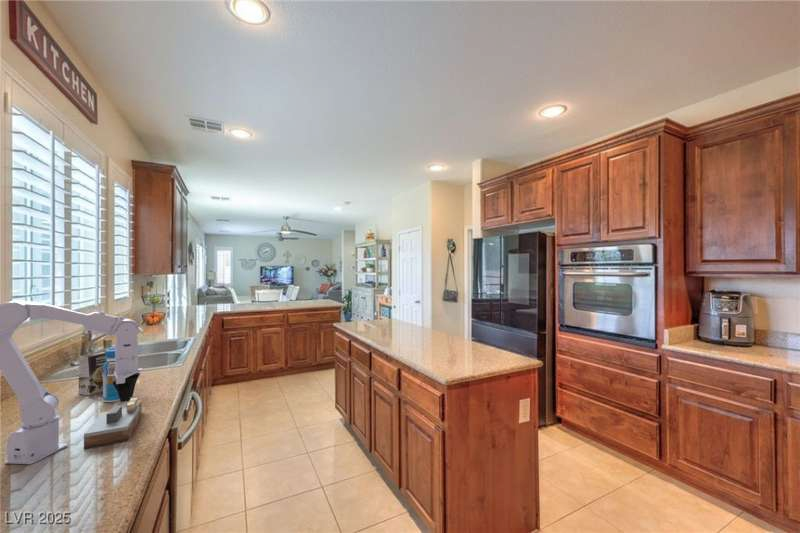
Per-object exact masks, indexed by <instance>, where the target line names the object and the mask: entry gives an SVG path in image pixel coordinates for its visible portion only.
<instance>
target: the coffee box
mask: <svg viewBox="0 0 800 533" xmlns="http://www.w3.org/2000/svg"><path fill="white" fill-rule="evenodd" d="M105 352H106V350H101V351H96V352H91V353H86V354H81V355H78V392H77V393H78V395H81V394H82V396H93V395H95V394H99V393H101V392H102V393H103V376H102V375H103V372H104V369H103V366H104V364H105V362H106V361H107V360H108V359H106V357H105Z"/></svg>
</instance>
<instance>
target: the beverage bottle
mask: <svg viewBox="0 0 800 533" xmlns="http://www.w3.org/2000/svg"><path fill="white" fill-rule="evenodd" d="M105 351H106V352H105V357H106V359H108V360H107V361H106V362H105V364H104V366H103V369H104V372H103V375H102V376H103V391H102V401H103V402H104V403H113V402H114V403H115V401H116V402H121V401H120V398H119V395H118V392H117V390H116V388H115V387H114V385H113V381H114V380H116V377H115V375H114V372H115V347H112V348H111V347H110V348H108V349H105Z"/></svg>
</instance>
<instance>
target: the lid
mask: <svg viewBox="0 0 800 533" xmlns="http://www.w3.org/2000/svg"><path fill="white" fill-rule="evenodd" d="M139 410H140V407H136V408H135V410H134V411H132V412H127V408H123V405H116V406H115V405H114V406H111V408H110V409H109V410H108V411H102V412H101V413H100V415H98V417H97V418H96V419H95V421H93V423H92V424H91V425H90V426H89V427H88V429H87V430H86V431H85V432H84V433H83V438H84V437H89V436H95V435H100V434H106V433H111V432H117V431H123V430H128V428H129V426H130V425H131V423H132V422H133V420H134V418H135V417H136V415H137V413H138V412H139Z"/></svg>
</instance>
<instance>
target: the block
mask: <svg viewBox="0 0 800 533" xmlns="http://www.w3.org/2000/svg"><path fill="white" fill-rule="evenodd" d="M138 398H139V397H134V398H133V397H132V398H130V400H129V401H127V404H126V409H127V412H132V411H134V410H135V408H136V407H137V405H138V401H139V399H138Z"/></svg>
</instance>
